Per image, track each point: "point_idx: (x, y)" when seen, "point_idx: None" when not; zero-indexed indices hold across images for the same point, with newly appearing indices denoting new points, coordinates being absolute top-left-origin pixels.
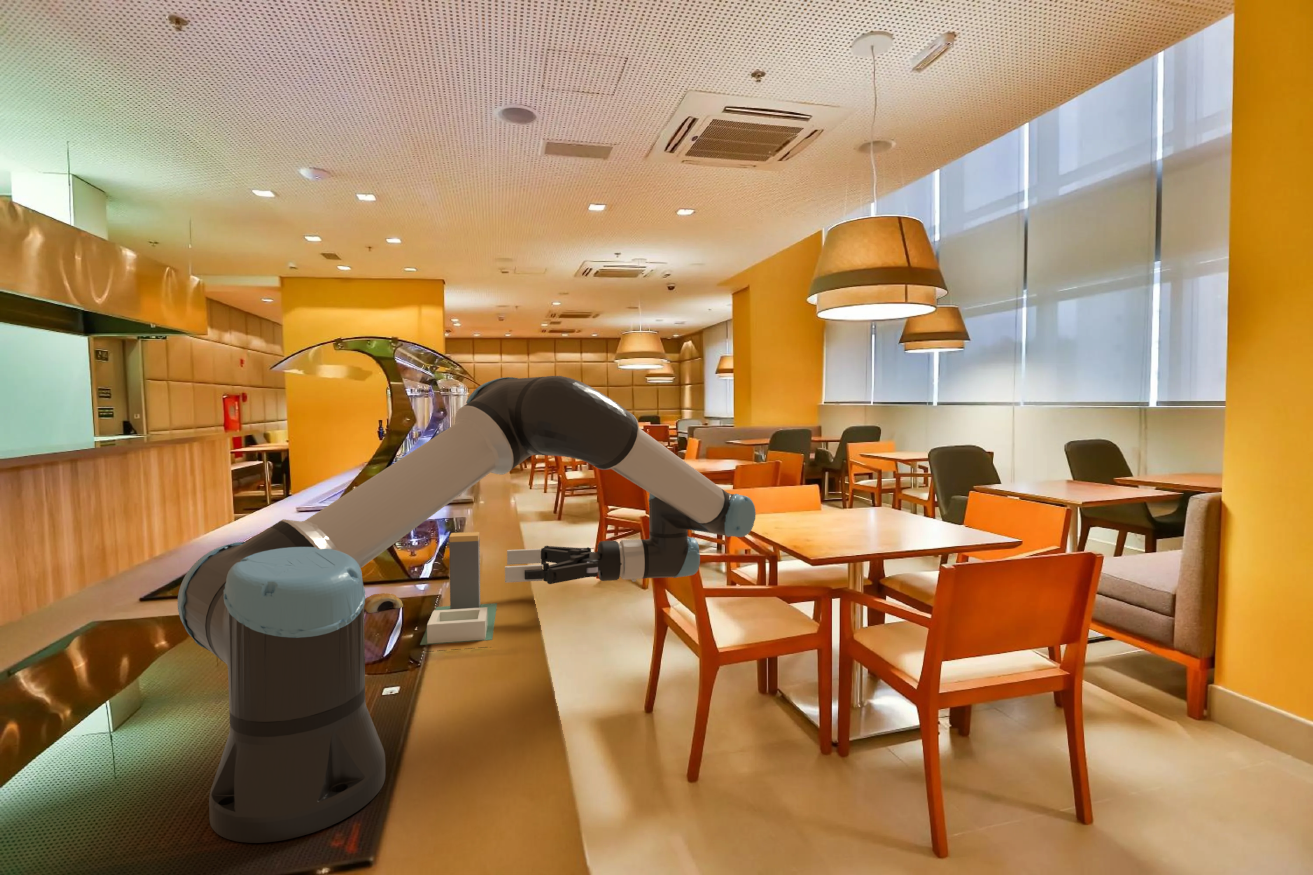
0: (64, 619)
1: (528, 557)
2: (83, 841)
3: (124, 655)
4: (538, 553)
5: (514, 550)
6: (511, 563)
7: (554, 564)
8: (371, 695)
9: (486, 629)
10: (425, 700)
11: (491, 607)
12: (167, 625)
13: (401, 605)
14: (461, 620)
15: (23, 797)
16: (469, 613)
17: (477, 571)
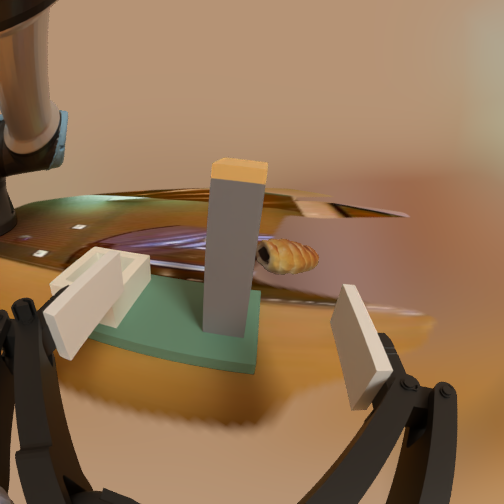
0: (296, 193)
1: (350, 355)
2: (26, 206)
3: None
4: (366, 375)
5: (351, 298)
6: (332, 328)
7: (32, 353)
8: (44, 246)
9: None
10: (5, 263)
11: (224, 352)
12: (275, 204)
13: (272, 264)
14: (77, 267)
15: (70, 197)
16: None
17: (205, 253)
